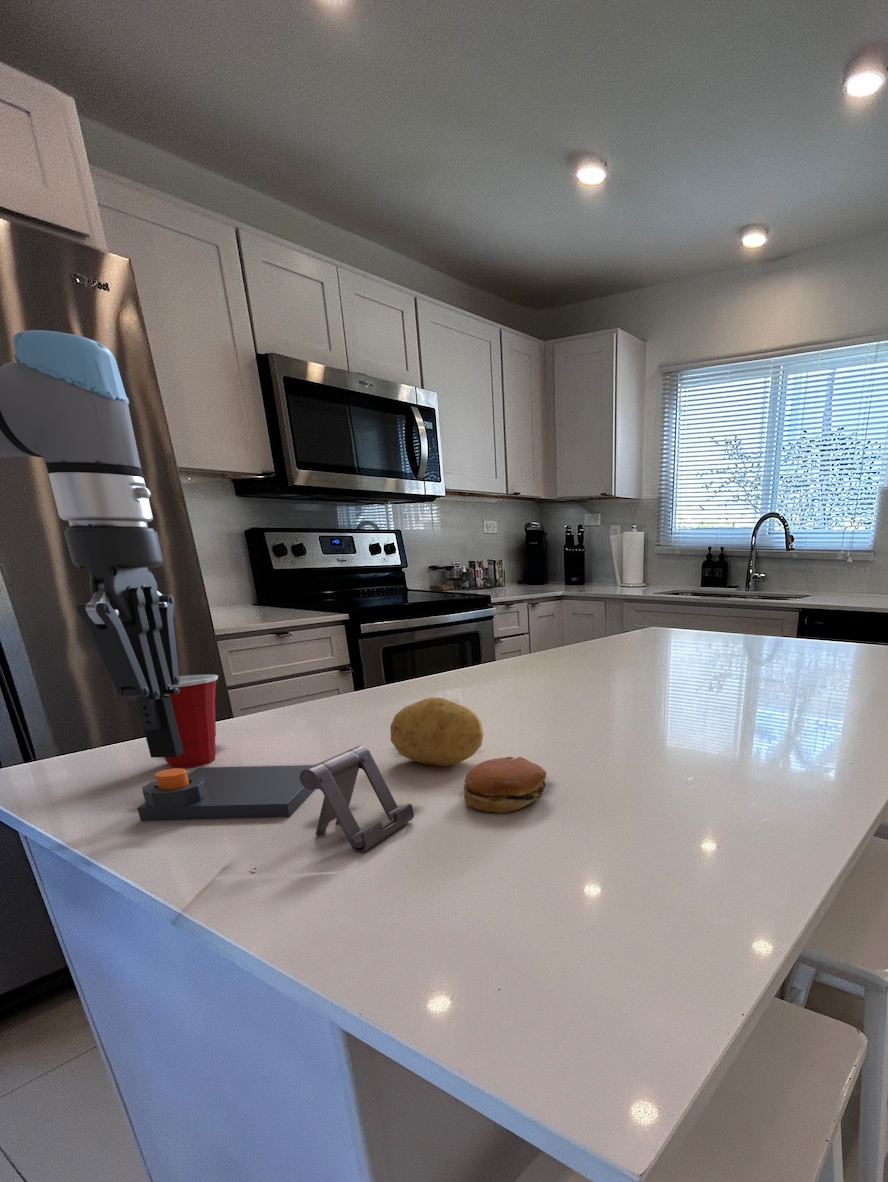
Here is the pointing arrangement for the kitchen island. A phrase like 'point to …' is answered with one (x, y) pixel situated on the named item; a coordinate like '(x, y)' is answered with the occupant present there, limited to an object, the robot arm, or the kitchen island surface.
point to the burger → (504, 784)
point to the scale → (228, 794)
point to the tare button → (172, 778)
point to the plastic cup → (195, 720)
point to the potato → (436, 732)
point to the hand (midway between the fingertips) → (167, 755)
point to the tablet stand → (338, 788)
